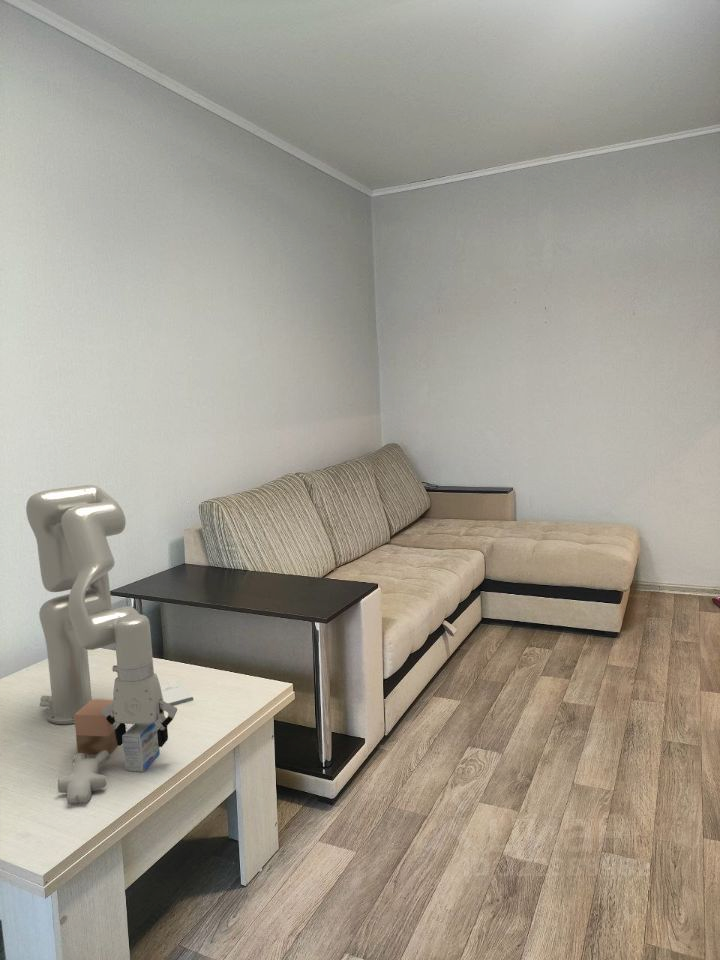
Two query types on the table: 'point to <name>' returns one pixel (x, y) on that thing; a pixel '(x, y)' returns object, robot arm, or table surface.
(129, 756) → the medicine box
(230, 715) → the table surface
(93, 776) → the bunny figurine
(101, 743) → the tower bottom block
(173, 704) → the external hard drive
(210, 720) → the table surface
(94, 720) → the tower top block
